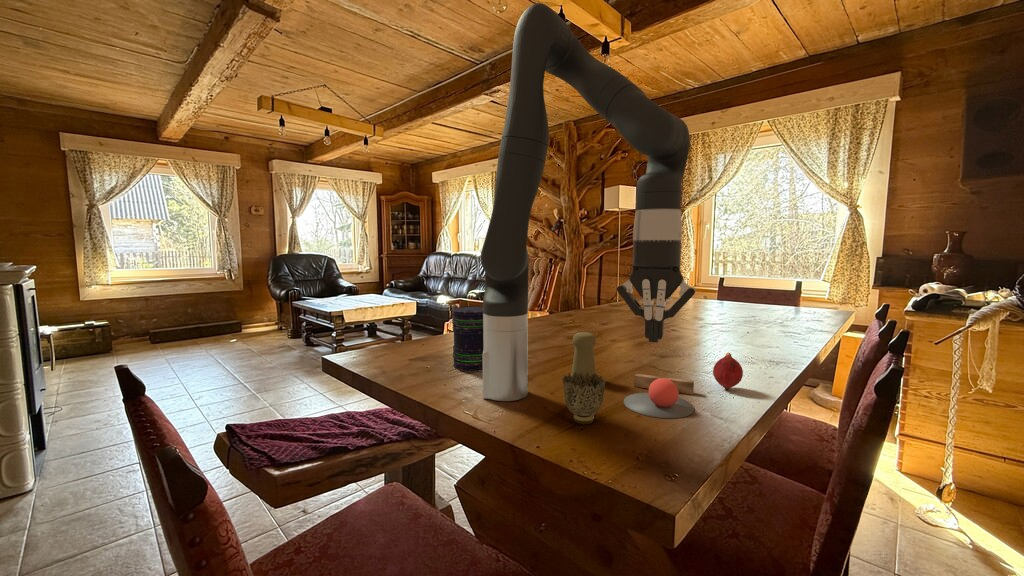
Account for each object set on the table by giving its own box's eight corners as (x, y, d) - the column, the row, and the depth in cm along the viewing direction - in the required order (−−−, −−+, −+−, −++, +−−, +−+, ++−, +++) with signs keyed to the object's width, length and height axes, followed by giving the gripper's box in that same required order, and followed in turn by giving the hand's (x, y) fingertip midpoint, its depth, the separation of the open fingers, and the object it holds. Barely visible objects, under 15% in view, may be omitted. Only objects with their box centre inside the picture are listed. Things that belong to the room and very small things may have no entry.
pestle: (567, 381, 99) (568, 334, 98) (573, 374, 105) (574, 329, 104) (593, 384, 97) (594, 336, 96) (598, 377, 102) (599, 331, 101)
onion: (745, 394, 90) (747, 357, 90) (716, 392, 92) (717, 355, 91) (737, 385, 96) (739, 350, 95) (709, 383, 97) (711, 349, 96)
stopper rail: (693, 392, 92) (693, 380, 92) (693, 394, 90) (693, 382, 90) (635, 384, 97) (635, 373, 97) (634, 386, 95) (634, 375, 95)
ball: (659, 401, 87) (658, 417, 83) (643, 380, 87) (641, 394, 82) (684, 390, 85) (684, 406, 80) (668, 368, 84) (667, 383, 80)
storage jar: (457, 360, 117) (456, 305, 116) (493, 361, 116) (493, 306, 115) (448, 371, 107) (447, 311, 106) (487, 372, 106) (487, 312, 105)
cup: (558, 413, 80) (559, 371, 79) (597, 412, 81) (598, 370, 80) (567, 431, 73) (567, 385, 72) (609, 429, 74) (610, 383, 73)
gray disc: (634, 418, 78) (634, 417, 78) (616, 393, 91) (616, 392, 91) (706, 418, 78) (706, 417, 78) (678, 393, 91) (678, 392, 91)
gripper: (701, 238, 72) (696, 340, 74) (620, 238, 77) (618, 333, 79) (700, 237, 65) (695, 350, 67) (611, 238, 71) (609, 342, 72)
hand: (653, 341), depth 73 cm, fingers closed
